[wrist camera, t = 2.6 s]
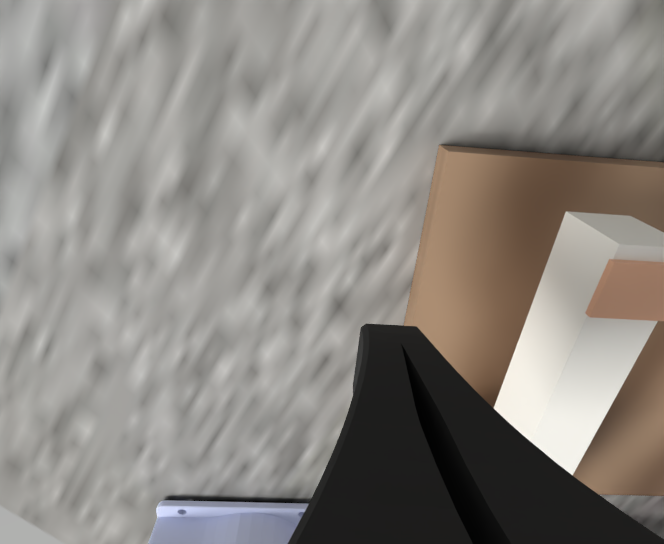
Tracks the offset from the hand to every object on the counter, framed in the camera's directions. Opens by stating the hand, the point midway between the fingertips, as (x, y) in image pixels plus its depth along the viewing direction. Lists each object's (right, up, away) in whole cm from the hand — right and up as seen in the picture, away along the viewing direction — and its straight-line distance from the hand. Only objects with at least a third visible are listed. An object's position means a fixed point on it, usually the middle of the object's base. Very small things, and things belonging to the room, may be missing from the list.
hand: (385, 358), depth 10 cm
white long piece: (+6, -3, +6) cm, 9 cm away
